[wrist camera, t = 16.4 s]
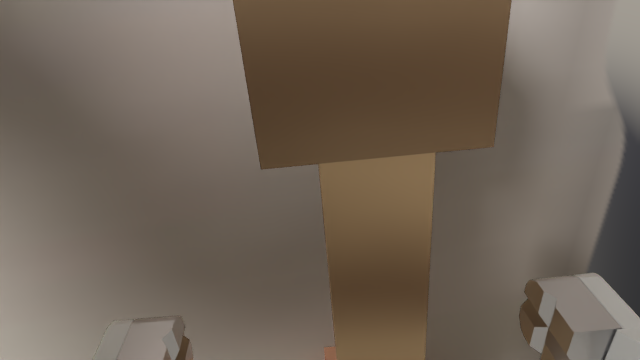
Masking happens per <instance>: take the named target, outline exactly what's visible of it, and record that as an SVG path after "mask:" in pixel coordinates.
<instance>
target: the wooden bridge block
mask: <svg viewBox="0 0 640 360" xmlns="http://www.w3.org/2000/svg"><path fill="white" fill-rule="evenodd" d="M233 4H234V10H235V16H236V22H237V28H238V34H239V40H240V46H241V52H242V58H243V64H244V70H245V76H246V82H247V88H248V94H249V100H250V106H251V112H252V119H253V125H254V131H255V137H256V143H257V149H258V155H259V161H260V167H261V169H271V168H282V167H292V166H302V165H313V164H318V166H319V177H320V188H321V198H322V209H323V219H324V230H325V241H326V251H327V262H328V273H329V283H330V294H331V305H332V315H333V326H334V337H335V347H336V358H337V360H425V349H426V330H427V310H428V291H429V272H430V252H431V233H432V213H433V194H434V174H435V155H436V152H446V151H457V150H467V149H477V148H487V147H494V140H495V131H496V123H497V115H498V107H499V99H500V90H501V82H502V74H503V66H504V58H505V49H506V41H507V33H508V25H509V17H510V8H511V0H233Z"/></svg>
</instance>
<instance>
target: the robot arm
mask: <svg viewBox="0 0 640 360" xmlns="http://www.w3.org/2000/svg"><path fill="white" fill-rule="evenodd" d="M524 292H525V294H526V295H527V297H528V298H529V299H527V300H526V301H525V302H524V303H523V304H522V305H521V308H520V314H519V319H520V326H521V330H522V332H523V335H524V337H525V339H526V341H527V342H528V344H529V346H530V347H532V348H533V349H535V350H536V351H538V352H540V353H541V357H540V360H640V318H639V316H637V314H636V313H635V312H634V311H633V310H632V309H631V308H630V307H629V306H628V305H627V304H626V303H625V302H624V300H623V299H622V298H620V296H619V295H618V294H617V293H616V292H615V291H614V290H613V289H612V288H611V287H610V286H609V284H608V283H606V281H605V280H604V279H603V278H602V277H601V276H600V275H598V274H596V273H586V274H577V275H572V276H570V275H567V276H558V277H549V278H541V279H532V280H529V281H528V283H527V284H526V287H525V291H524ZM184 330H185V324H184V322H183V319H182V317H181V316H167V317H154V318H140V319H132V320H119V321H113V322H112V323H111V324H110V325H109V326H108V327H107V329H106V332H105V334H104V336H103V338H102V340H101V342H100V345H99V347H98V349H97V351H96V353H95V355H94V357H93V360H193V351H192V346H191V342H190V340H189V339H188V338H186V337H185V336H184V335H183V334H184Z"/></svg>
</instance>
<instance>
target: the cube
mask: <svg viewBox="0 0 640 360" xmlns="http://www.w3.org/2000/svg"><path fill="white" fill-rule="evenodd" d="M324 353H325V360H337V358H336V347H335V346H334V347H324Z"/></svg>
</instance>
